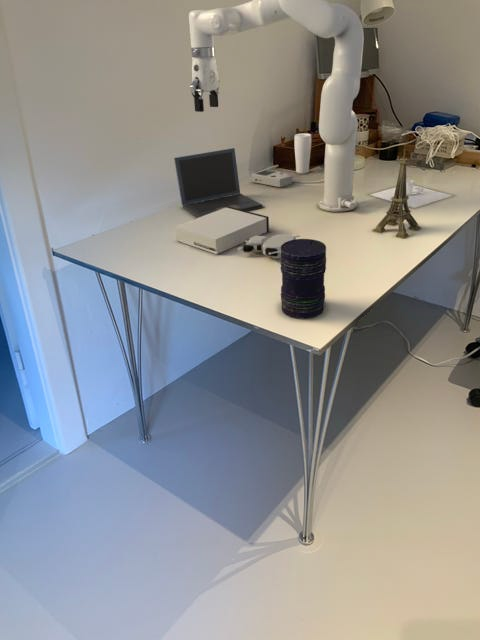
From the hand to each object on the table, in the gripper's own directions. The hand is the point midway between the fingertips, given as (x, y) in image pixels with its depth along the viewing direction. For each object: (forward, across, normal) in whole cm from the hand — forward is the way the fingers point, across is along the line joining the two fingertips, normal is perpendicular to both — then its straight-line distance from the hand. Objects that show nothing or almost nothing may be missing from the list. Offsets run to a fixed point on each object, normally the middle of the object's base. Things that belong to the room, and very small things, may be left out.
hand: (206, 109), depth 185 cm
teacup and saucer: (+31, +25, -66) cm, 77 cm away
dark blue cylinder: (+31, -67, -63) cm, 97 cm away
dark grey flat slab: (+31, -10, -10) cm, 34 cm away
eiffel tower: (+31, -10, -70) cm, 77 cm away
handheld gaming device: (+31, +24, -13) cm, 41 cm away
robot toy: (+31, -41, -42) cm, 66 cm away
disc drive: (+31, -34, -23) cm, 52 cm away
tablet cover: (+22, -5, -2) cm, 22 cm away
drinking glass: (+31, +42, -19) cm, 55 cm away
